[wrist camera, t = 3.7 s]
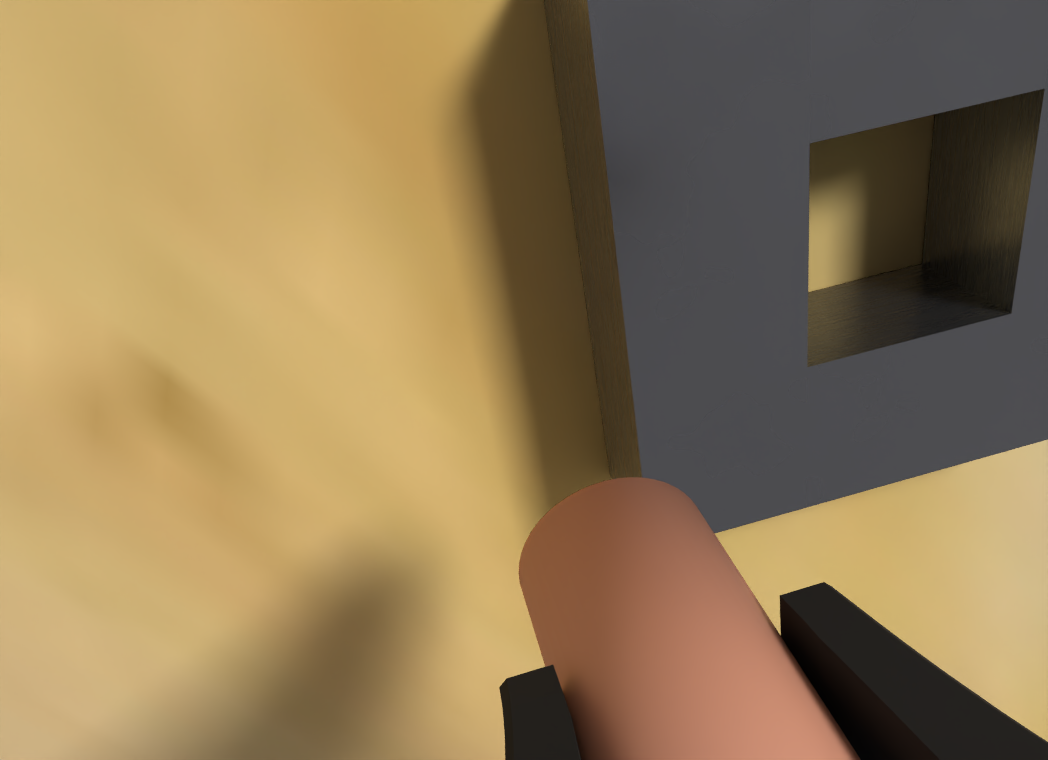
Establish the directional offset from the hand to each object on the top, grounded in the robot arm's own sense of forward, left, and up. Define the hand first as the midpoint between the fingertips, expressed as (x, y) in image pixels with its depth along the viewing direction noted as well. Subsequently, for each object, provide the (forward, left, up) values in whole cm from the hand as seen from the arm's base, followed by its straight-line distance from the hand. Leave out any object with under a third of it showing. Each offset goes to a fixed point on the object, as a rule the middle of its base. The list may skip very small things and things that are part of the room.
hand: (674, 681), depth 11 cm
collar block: (+2, -8, -10) cm, 12 cm away
